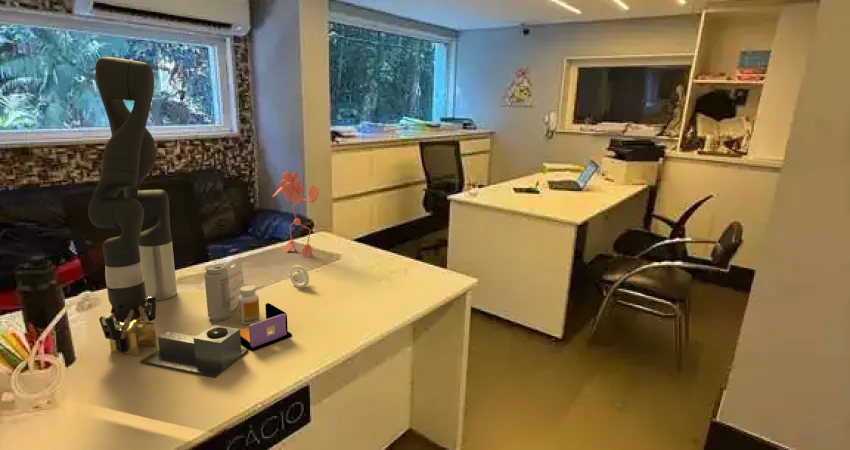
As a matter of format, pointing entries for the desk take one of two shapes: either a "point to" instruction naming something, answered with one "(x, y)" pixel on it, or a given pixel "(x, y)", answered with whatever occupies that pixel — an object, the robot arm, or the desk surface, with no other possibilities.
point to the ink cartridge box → (235, 281)
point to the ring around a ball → (299, 276)
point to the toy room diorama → (266, 330)
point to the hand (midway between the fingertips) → (133, 345)
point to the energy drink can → (217, 292)
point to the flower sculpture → (293, 191)
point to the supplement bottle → (248, 305)
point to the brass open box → (137, 337)
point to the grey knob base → (198, 351)
